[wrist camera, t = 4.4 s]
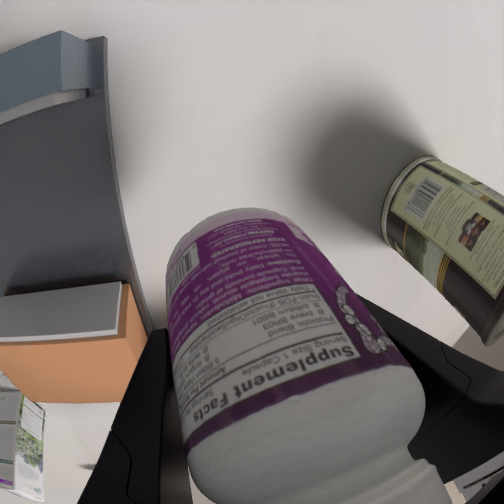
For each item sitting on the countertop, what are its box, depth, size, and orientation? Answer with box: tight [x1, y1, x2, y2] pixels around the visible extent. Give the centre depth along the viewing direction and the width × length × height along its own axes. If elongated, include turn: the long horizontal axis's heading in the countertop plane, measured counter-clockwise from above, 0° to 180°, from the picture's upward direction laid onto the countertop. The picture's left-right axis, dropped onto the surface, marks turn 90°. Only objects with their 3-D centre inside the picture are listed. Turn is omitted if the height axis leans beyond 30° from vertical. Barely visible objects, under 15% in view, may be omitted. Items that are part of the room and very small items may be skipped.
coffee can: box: [381, 157, 504, 346], centre depth 19 cm, size 10×10×14 cm
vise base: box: [0, 30, 154, 338], centre depth 13 cm, size 24×13×6 cm, turn 179°
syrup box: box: [0, 391, 45, 502], centre depth 19 cm, size 6×6×14 cm
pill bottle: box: [166, 208, 452, 504], centre depth 7 cm, size 5×5×10 cm
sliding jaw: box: [0, 281, 148, 403], centre depth 17 cm, size 8×12×5 cm, turn 89°
